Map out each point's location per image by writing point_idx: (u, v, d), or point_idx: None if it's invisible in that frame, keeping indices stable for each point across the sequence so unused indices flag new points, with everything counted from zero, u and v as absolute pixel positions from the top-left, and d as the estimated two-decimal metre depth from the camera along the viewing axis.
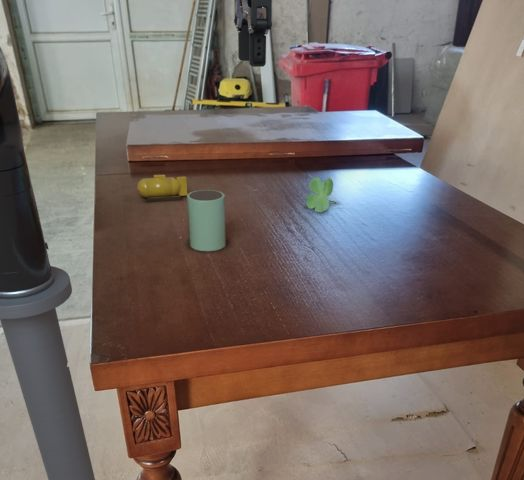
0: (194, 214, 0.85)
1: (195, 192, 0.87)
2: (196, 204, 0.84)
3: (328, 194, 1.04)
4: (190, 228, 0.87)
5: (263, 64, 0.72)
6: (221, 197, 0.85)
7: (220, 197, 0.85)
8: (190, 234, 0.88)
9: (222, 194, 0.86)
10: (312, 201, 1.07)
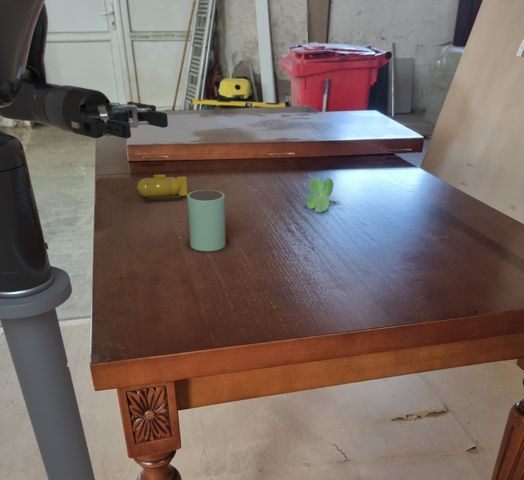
0: (194, 214, 0.85)
1: (195, 192, 0.87)
2: (196, 204, 0.84)
3: (328, 194, 1.04)
4: (190, 228, 0.87)
5: (166, 125, 0.87)
6: (221, 197, 0.85)
7: (220, 197, 0.85)
8: (190, 234, 0.88)
9: (222, 194, 0.86)
10: (312, 201, 1.07)
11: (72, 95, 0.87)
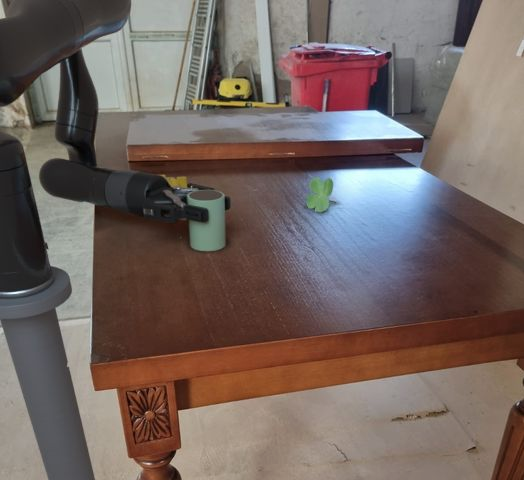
0: None
1: (195, 192, 0.87)
2: (196, 204, 0.84)
3: (328, 194, 1.04)
4: (190, 228, 0.87)
5: None
6: (221, 197, 0.85)
7: (220, 197, 0.85)
8: (190, 234, 0.88)
9: (222, 194, 0.86)
10: (312, 201, 1.07)
11: (136, 181, 0.88)
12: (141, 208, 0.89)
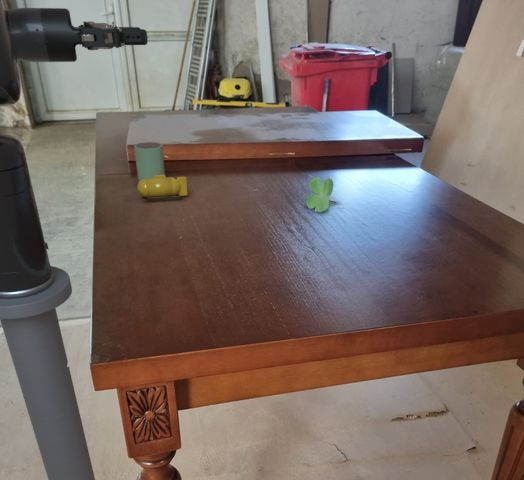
0: (150, 159, 1.14)
1: (137, 145, 1.15)
2: (151, 151, 1.13)
3: (328, 194, 1.04)
4: (144, 172, 1.16)
5: None
6: (161, 144, 1.16)
7: (160, 144, 1.16)
8: (144, 177, 1.16)
9: (157, 143, 1.17)
10: (312, 201, 1.07)
11: (50, 14, 0.82)
12: (66, 44, 0.83)
